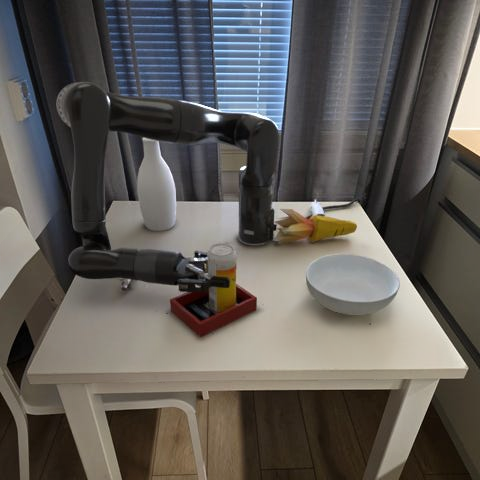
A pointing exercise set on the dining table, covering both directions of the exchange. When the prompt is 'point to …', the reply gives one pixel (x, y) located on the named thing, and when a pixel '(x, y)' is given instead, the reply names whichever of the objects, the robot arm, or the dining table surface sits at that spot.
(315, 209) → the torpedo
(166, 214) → the bottle
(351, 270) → the serving bowl
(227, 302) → the lager tin can
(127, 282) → the micrometer
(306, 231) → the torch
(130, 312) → the dining table surface
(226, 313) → the red picture frame
